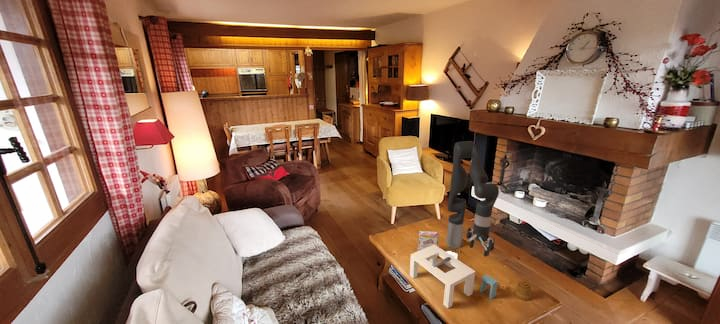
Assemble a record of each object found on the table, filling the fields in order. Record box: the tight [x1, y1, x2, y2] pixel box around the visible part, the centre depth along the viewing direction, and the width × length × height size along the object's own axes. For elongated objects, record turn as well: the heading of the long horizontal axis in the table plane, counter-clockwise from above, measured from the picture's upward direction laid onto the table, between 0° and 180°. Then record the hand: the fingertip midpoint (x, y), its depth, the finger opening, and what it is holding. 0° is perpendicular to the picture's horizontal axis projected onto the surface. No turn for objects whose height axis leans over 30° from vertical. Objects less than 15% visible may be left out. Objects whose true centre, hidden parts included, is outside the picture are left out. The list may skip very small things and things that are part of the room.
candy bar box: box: [417, 230, 439, 251], centre depth 176 cm, size 11×5×16 cm, turn 84°
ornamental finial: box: [513, 280, 532, 301], centre depth 146 cm, size 8×8×8 cm
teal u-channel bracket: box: [479, 274, 499, 300], centre depth 147 cm, size 4×6×9 cm, turn 31°
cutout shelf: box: [409, 244, 476, 309], centre depth 153 cm, size 18×28×15 cm, turn 31°
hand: (478, 251), depth 144 cm, fingers open, 8 cm apart
